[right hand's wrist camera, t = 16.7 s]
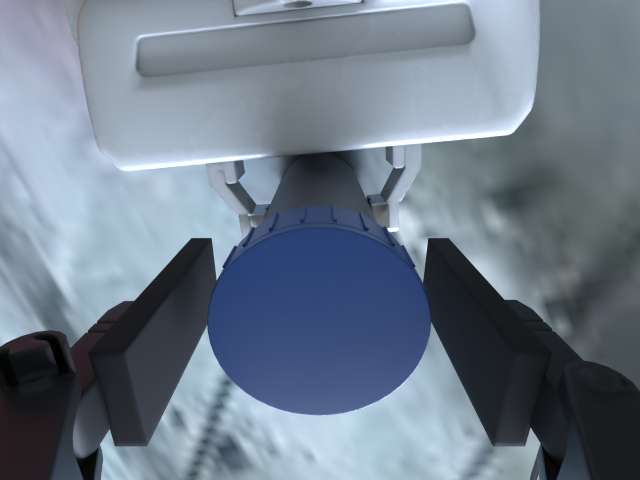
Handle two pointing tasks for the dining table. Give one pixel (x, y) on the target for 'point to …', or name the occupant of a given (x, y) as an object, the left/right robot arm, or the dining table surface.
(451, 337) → the right robot arm
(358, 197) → the jar
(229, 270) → the lid
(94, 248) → the dining table surface
